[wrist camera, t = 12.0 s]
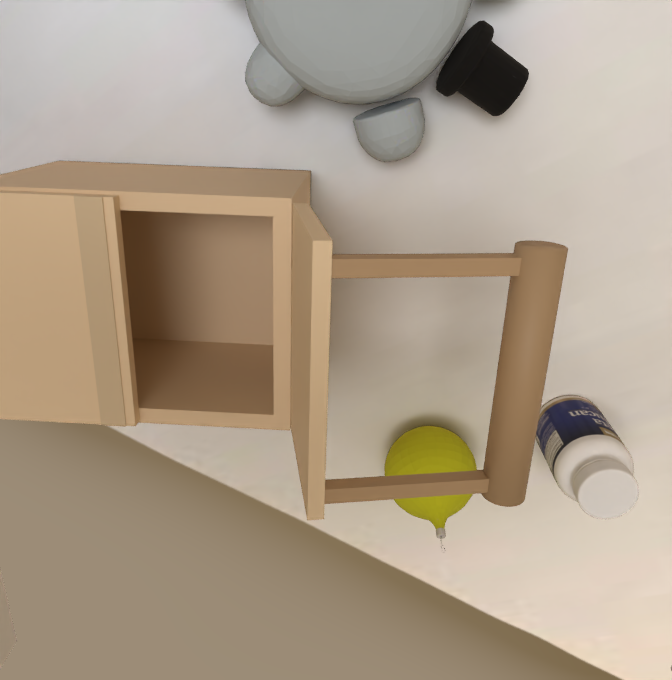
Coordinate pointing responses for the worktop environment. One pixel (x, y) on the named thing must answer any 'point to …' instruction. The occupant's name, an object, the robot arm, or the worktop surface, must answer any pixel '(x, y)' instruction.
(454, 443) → the ornament
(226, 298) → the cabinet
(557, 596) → the worktop surface
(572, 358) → the worktop surface
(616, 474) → the pill bottle
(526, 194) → the worktop surface
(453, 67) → the figurine
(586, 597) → the worktop surface
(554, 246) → the tan handled panel part
